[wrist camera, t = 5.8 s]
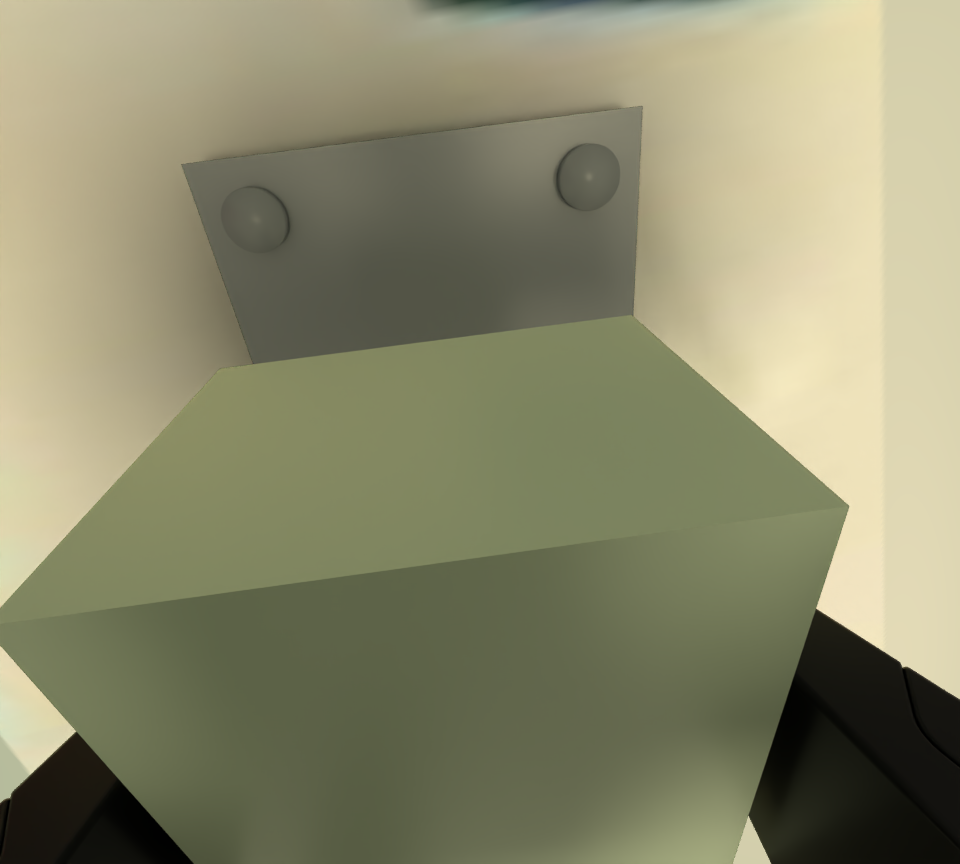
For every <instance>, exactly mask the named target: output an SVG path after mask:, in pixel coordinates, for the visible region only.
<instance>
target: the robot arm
mask: <svg viewBox="0 0 960 864" xmlns="http://www.w3.org/2000/svg"><path fill="white" fill-rule="evenodd" d="M749 818H750V820H751V822H752V824H753V826H754V828H755V830H756V832H757V834H758V836H759V839H760V841H761V843H762V845H763V847H764V849H765V851H766V853H767V855H768V858H769V860H770V862H771V864H960V699H958V698H957V697H955V696H953V695H952V694H950V693H948V692H946V691H945V690H943V689H942V688H940V687H939V686H937V685H936V684H934V683H932V682H931V681H929V680H928V679H926V678H925V677H923V676H921V675H920V674H918V673H917V672H915V671H913V670H912V669H910V668H908V667H903V668H902V665H901V663H900V662H899V661H897V660H896V659H894V658H893V657H891V656H890V655H888V654H887V653H885V652H883V651H882V650H880V649H879V648H877V647H876V646H874V645H872V644H871V643H869V642H868V641H866V640H865V639H863V638H861V637H860V636H858V635H857V634H855V633H854V632H852V631H850V630H849V629H847V628H846V627H844V626H843V625H841V624H839V623H838V622H836V621H835V620H833V619H832V618H830V617H828V616H827V615H825V614H824V613H822V612H821V611H819V610H817V609H816V610H815V613H814V616H813V619H812V622H811V625H810V628H809V631H808V634H807V638H806V641H805V644H804V647H803V650H802V653H801V656H800V659H799V662H798V665H797V668H796V671H795V674H794V677H793V680H792V683H791V687H790V690H789V693H788V696H787V699H786V702H785V705H784V708H783V711H782V714H781V717H780V720H779V723H778V726H777V729H776V732H775V735H774V739H773V742H772V745H771V748H770V751H769V754H768V757H767V760H766V763H765V766H764V769H763V772H762V775H761V778H760V781H759V784H758V787H757V791H756V794H755V797H754V800H753V803H752V806H751V809H750V812H749ZM0 864H194V863H193V862H192V861H191V860H190V859H189V858H188V856H187V855H186V854H185V853H184V852H183V851H182V850H181V849H180V847H179V846H178V845H177V844H176V843H175V842H174V841H173V839H172V838H171V837H170V836H169V835H168V834H167V833H166V832H165V830H164V829H163V828H162V827H161V826H160V825H159V824H158V823H157V821H156V820H155V819H154V818H153V817H152V816H151V815H150V814H149V812H148V811H147V810H146V809H145V808H144V807H143V806H142V805H141V803H140V802H139V801H138V800H137V799H136V798H135V797H134V796H133V794H132V793H131V792H130V791H129V790H128V789H127V788H126V787H125V785H124V784H123V783H122V782H121V781H120V780H119V779H118V778H117V776H116V775H115V774H114V773H113V772H112V771H111V770H110V769H109V767H108V766H107V765H106V764H105V763H104V762H103V761H102V760H101V758H100V757H99V756H98V755H97V754H96V753H95V752H94V751H93V749H92V748H91V747H90V746H89V745H88V744H87V743H86V742H85V740H84V739H83V738H82V737H81V736H80V735H79V734H78V733H77V731H76V732H75V733H74V734H73V735H72V736H71V737H70V738H69V739H68V740H67V741H66V742H65V743H63V744H62V745H61V746H60V747H59V748H58V749H57V750H56V751H55V752H54V753H53V754H52V755H51V756H50V757H49V758H48V759H47V760H46V761H44V762H43V763H42V764H41V765H40V766H39V767H38V768H37V769H36V770H35V771H34V772H33V773H32V774H31V775H30V776H29V777H28V778H27V779H26V780H25V781H24V782H22V783H21V784H20V785H19V786H18V787H17V788H16V789H15V790H14V791H13V792H12V794H11V797H10V798H7V799H5V800H3V801H2V802H1V803H0Z"/></svg>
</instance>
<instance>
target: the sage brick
mask: <svg viewBox="0 0 960 864" xmlns="http://www.w3.org/2000/svg"><path fill="white" fill-rule="evenodd" d="M848 509H849V505H848V504H846V503H845V502H844V501H843V500H842V499H841V498H840V497H838V496H837V495H836V494H835V493H834V492H833V491H832V490H830V489H829V488H828V487H827V486H826V485H825V484H824V483H823V482H821V481H820V480H819V479H818V478H817V477H816V476H815V475H813V474H812V473H811V472H810V471H809V470H808V469H807V468H805V467H804V466H803V465H802V464H801V463H800V462H799V461H797V460H796V459H795V458H794V457H793V456H792V455H791V454H789V453H788V452H787V451H786V450H785V449H784V448H783V447H781V446H780V445H779V444H778V443H777V442H776V441H775V440H773V439H772V438H771V437H770V436H769V435H768V434H767V433H765V432H764V431H763V430H762V429H761V428H760V427H759V426H757V425H756V424H755V423H754V422H753V421H752V420H751V419H750V418H748V417H747V416H746V415H745V414H744V413H743V412H742V411H740V410H739V409H738V408H737V407H736V406H735V405H734V404H732V403H731V402H730V401H729V400H728V399H727V398H726V397H724V396H723V395H722V394H721V393H720V392H719V391H718V390H716V389H715V388H714V387H713V386H712V385H711V384H710V383H708V382H707V381H706V380H705V379H704V378H703V377H702V376H700V375H699V374H698V373H697V372H696V371H695V370H694V369H692V368H691V367H690V366H689V365H688V364H687V363H686V362H684V361H683V360H682V359H681V358H680V357H679V356H678V355H677V354H675V353H674V352H673V351H672V350H671V349H670V348H669V347H667V346H666V345H665V344H664V343H663V342H662V341H661V340H659V339H658V338H657V337H656V336H655V335H654V334H653V333H651V332H650V331H649V330H648V329H647V328H646V327H645V326H643V325H642V324H641V323H640V322H639V321H638V320H637V319H635V318H634V317H633V316H632V315H627V316H619V317H611V318H604V319H596V320H588V321H581V322H573V323H565V324H558V325H550V326H542V327H535V328H527V329H519V330H512V331H504V332H496V333H489V334H481V335H474V336H466V337H458V338H451V339H443V340H435V341H428V342H420V343H412V344H405V345H397V346H389V347H382V348H374V349H366V350H359V351H351V352H343V353H336V354H328V355H320V356H313V357H305V358H297V359H290V360H282V361H274V362H267V363H259V364H251V365H244V366H236V367H228V368H221V369H219V370H218V372H217V373H216V374H215V375H214V376H213V377H212V378H211V379H210V380H209V381H208V382H207V384H206V385H205V386H204V387H203V388H202V389H201V390H200V391H199V392H198V393H197V394H196V395H195V397H194V398H193V399H192V400H191V401H190V402H189V403H188V404H187V405H186V406H185V407H184V409H183V410H182V411H181V412H180V413H179V414H178V415H177V416H176V417H175V418H174V419H173V420H172V422H171V423H170V424H169V425H168V426H167V427H166V428H165V429H164V430H163V431H162V432H161V434H160V435H159V436H158V437H157V438H156V439H155V440H154V441H153V442H152V443H151V444H150V446H149V447H148V448H147V449H146V450H145V451H144V452H143V453H142V454H141V455H140V456H139V457H138V459H137V460H136V461H135V462H134V463H133V464H132V465H131V466H130V467H129V468H128V469H127V471H126V472H125V473H124V474H123V475H122V476H121V477H120V478H119V479H118V480H117V481H116V483H115V484H114V485H113V486H112V487H111V488H110V489H109V490H108V491H107V492H106V493H105V494H104V496H103V497H102V498H101V499H100V500H99V501H98V502H97V503H96V504H95V505H94V506H93V508H92V509H91V510H90V511H89V512H88V513H87V514H86V515H85V516H84V517H83V518H82V520H81V521H80V522H79V523H78V524H77V525H76V526H75V527H74V528H73V529H72V530H71V531H70V533H69V534H68V535H67V536H66V537H65V538H64V539H63V540H62V541H61V542H60V543H59V545H58V546H57V547H56V548H55V549H54V550H53V551H52V552H51V553H50V554H49V555H48V556H47V558H46V559H45V560H44V561H43V562H42V563H41V564H40V565H39V566H38V567H37V568H36V570H35V571H34V572H33V573H32V574H31V575H30V576H29V577H28V578H27V579H26V580H25V582H24V583H23V584H22V585H21V586H20V587H19V588H18V589H17V590H16V591H15V592H14V593H13V595H12V596H11V597H10V598H9V599H8V600H7V601H6V602H5V603H4V604H3V605H2V607H1V608H0V646H1V647H2V648H3V649H4V650H5V651H6V653H7V654H8V655H9V656H10V657H11V658H12V659H13V660H14V662H15V663H16V664H17V665H18V666H19V667H20V668H21V669H22V671H23V672H24V673H25V674H26V675H27V676H28V677H29V678H30V680H31V681H32V682H33V683H34V684H35V685H36V686H37V687H38V689H39V690H40V691H41V692H42V693H43V694H44V695H45V696H46V698H47V699H48V700H49V701H50V702H51V703H52V704H53V705H54V707H55V708H56V709H57V710H58V711H59V712H60V713H61V715H62V716H63V717H64V718H65V719H66V720H67V721H68V722H69V724H70V725H71V726H72V727H73V728H74V729H75V730H76V731H77V733H78V734H79V735H80V736H81V737H82V738H83V739H84V740H85V742H86V743H87V744H88V745H89V746H90V747H91V748H92V749H93V751H94V752H95V753H96V754H97V755H98V756H99V757H100V758H101V760H102V761H103V762H104V763H105V764H106V765H107V766H108V767H109V769H110V770H111V771H112V772H113V773H114V774H115V775H116V776H117V778H118V779H119V780H120V781H121V782H122V783H123V784H124V785H125V787H126V788H127V789H128V790H129V791H130V792H131V793H132V794H133V796H134V797H135V798H136V799H137V800H138V801H139V802H140V803H141V805H142V806H143V807H144V808H145V809H146V810H147V811H148V812H149V814H150V815H151V816H152V817H153V818H154V819H155V820H156V821H157V823H158V824H159V825H160V826H161V827H162V828H163V829H164V830H165V832H166V833H167V834H168V835H169V836H170V837H171V838H172V839H173V841H174V842H175V843H176V844H177V845H178V846H179V847H180V849H181V850H182V851H183V852H184V853H185V854H186V855H187V856H188V858H189V859H190V860H191V861H192V862H193V863H194V864H733V861H734V858H735V854H736V852H737V848H738V846H739V842H740V839H741V836H742V833H743V830H744V827H745V824H746V821H747V818H748V815H749V812H750V809H751V806H752V803H753V800H754V797H755V794H756V791H757V787H758V784H759V781H760V778H761V775H762V772H763V769H764V766H765V763H766V760H767V757H768V754H769V751H770V748H771V745H772V742H773V739H774V735H775V732H776V729H777V726H778V723H779V720H780V717H781V714H782V711H783V708H784V705H785V702H786V699H787V696H788V693H789V690H790V687H791V683H792V680H793V677H794V674H795V671H796V668H797V665H798V662H799V659H800V656H801V653H802V650H803V647H804V644H805V641H806V638H807V634H808V631H809V628H810V625H811V622H812V619H813V616H814V613H815V610H816V607H817V604H818V601H819V598H820V595H821V592H822V589H823V586H824V582H825V579H826V576H827V573H828V570H829V567H830V564H831V561H832V558H833V555H834V552H835V549H836V546H837V543H838V540H839V537H840V533H841V530H842V527H843V524H844V521H845V518H846V515H847V512H848Z"/></svg>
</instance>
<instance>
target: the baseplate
mask: <svg viewBox="0 0 960 864" xmlns="http://www.w3.org/2000/svg"><path fill="white" fill-rule="evenodd" d="M642 107H643V106H638V107H630V108H622V109H614V110H606V111H599V112H591V113H583V114H575V115H567V116H559V117H551V118H543V119H535V120H527V121H519V122H511V123H503V124H496V125H488V126H480V127H472V128H464V129H456V130H448V131H440V132H432V133H424V134H416V135H408V136H401V137H393V138H385V139H377V140H369V141H361V142H353V143H345V144H337V145H329V146H321V147H313V148H306V149H298V150H290V151H282V152H274V153H266V154H258V155H250V156H242V157H234V158H226V159H218V160H211V161H203V162H195V163H187V164H181V165H182V167H183V170H184V173H185V176H186V179H187V181H188V184H189V187H190V190H191V192H192V195H193V198H194V201H195V204H196V206H197V209H198V212H199V215H200V217H201V220H202V223H203V226H204V229H205V231H206V234H207V237H208V240H209V243H210V245H211V248H212V251H213V254H214V256H215V259H216V262H217V265H218V268H219V270H220V273H221V276H222V279H223V281H224V284H225V287H226V290H227V293H228V295H229V298H230V301H231V304H232V306H233V309H234V312H235V315H236V318H237V320H238V323H239V326H240V329H241V331H242V334H243V337H244V340H245V343H246V345H247V348H248V351H249V354H250V356H251V359H252V362H253V364H259V363H267V362H274V361H282V360H290V359H297V358H305V357H313V356H320V355H328V354H336V353H343V352H351V351H359V350H366V349H374V348H382V347H389V346H397V345H405V344H412V343H420V342H428V341H435V340H443V339H451V338H458V337H466V336H474V335H481V334H489V333H496V332H504V331H512V330H519V329H527V328H535V327H542V326H550V325H558V324H565V323H573V322H581V321H588V320H596V319H604V318H611V317H619V316H627V315H632V316H633V310H634V288H635V265H636V243H637V220H638V197H639V175H640V152H641V130H642Z"/></svg>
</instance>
